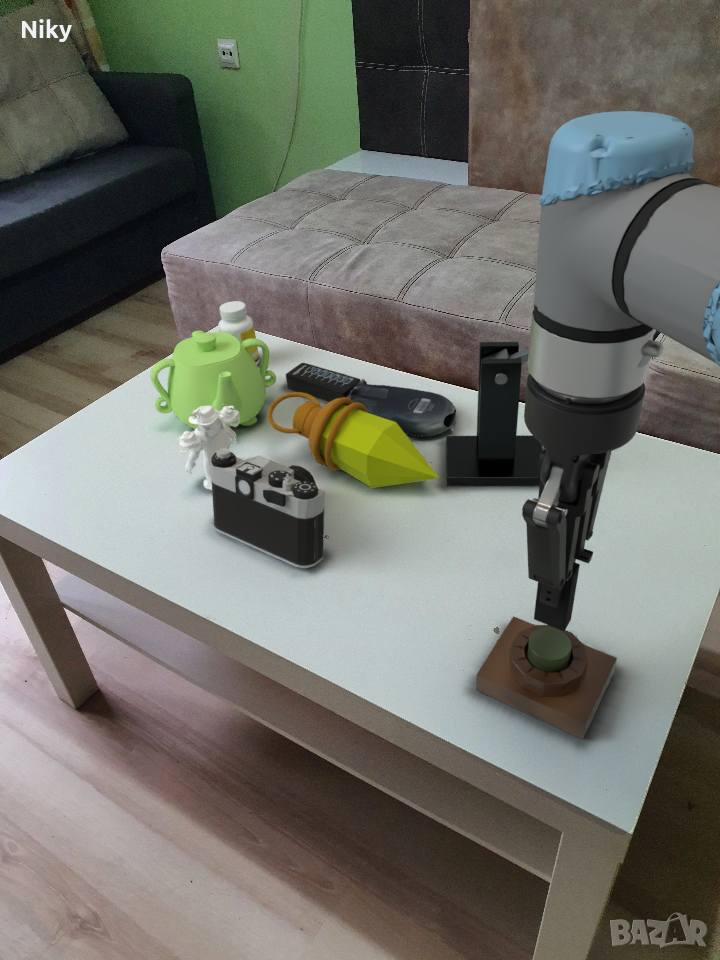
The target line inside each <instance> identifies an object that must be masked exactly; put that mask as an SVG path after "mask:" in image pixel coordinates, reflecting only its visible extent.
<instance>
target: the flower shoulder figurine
mask: <svg viewBox="0 0 720 960" xmlns="http://www.w3.org/2000/svg"><path fill="white" fill-rule="evenodd" d="M223 404H224V403H223ZM223 404H222V405H223ZM231 408H232V409H234V406H225V407H223V409H222V410H221V411H217V410H214V408H213V407H212V406H201V407H199V408H198V409H196V410H193V412H192V413H193V414H192V413H191V415H190V417H189V422H190V423H192V424H195V427H198V428H196V429H193V430H192V431H191V430H187V429H188V428H185V431H184V432H183V433H182V434H181V435H180V436H179V437H178V438H177V441H179V442H178V443H177V445H178V449H179V451H180V453H182V454H183V455H185V454H186V453H188V451H189V449H190V452H189V455H188V457H187V460H186V463H185V464H184V468H185V470H186V472H187V473H188V474H191V475H192V473H193V471H192V470H193V469H194V468H195V467H196V466H197V463H196V461H198V459H199V457H200V455H201V451H202V454H203V471H204V476H205V478H204V479H203V481H202V482H203V483H202V484H203V487H204V488H205V489H207V490H210V491H212V478H211V466H210V463H211V457H212V456H213V455H214V453H216V452H217V450H218V449H221V448H226V449H229V448H230V447H231V444H233V445H234V446H236V445H237V444H238V442H239V439H238V436H237V433H236V432H235V430H233V429H232V428H231V427H234V428H237V427H238V426H239V425H240V424H239V422H240V419H239V417H240V416H238V415H240V412H239V411H237V410H231ZM237 419H239V421H238V423H237V424H231V423H233V422H235V421H236V420H237ZM225 423H226V424H231V425H232V426H230V427H229V426H228V425H226V424H225ZM182 449H186V450H182ZM229 450H230V449H229Z"/></svg>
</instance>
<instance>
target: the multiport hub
mask: <svg viewBox="0 0 720 960" xmlns="http://www.w3.org/2000/svg"><path fill="white" fill-rule="evenodd" d="M361 380H362V379H361V378H359V377H355V376H352V375H349V374H345V373H342V372H337V371H334V370H331V369H327V368H324V367H320V366H318V365H314V364H311V363H308V362H301V363H299V364H297V365H296V366H295V367H293V368H292V369H291V370H289V371H288V372H286V373H285V382H286V387H287V389H289V390H292V391H294V392H302V393H307V394H310V395H312V396H313V397H315V398H316V399H317V398H318V399H320V400H322V401H323V400H324V401H326V402H330V401H332V400H334V399H337V398H342V397H347V396H348V395H350V393H351V390H353V389H354V387H356V386H357V385H358V383H359V382H360V381H361Z"/></svg>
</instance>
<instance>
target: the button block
mask: <svg viewBox="0 0 720 960" xmlns="http://www.w3.org/2000/svg"><path fill="white" fill-rule="evenodd" d="M545 627H549V628H554V627H552V626H549V625H547V624H534V623H531V622H529V621H527V620H524V619H521V618H519V617H517V616H512V617H511V619H510V620H509V622H508V624H507V626H506V627H505V629H504V630H503V632H502V633H501V634H500V637H499V638H498V639H497V641H496V643H495V645H494V646H493V647H492V649H491V651H490V653H489V654H488V655H487V657H486V658H485V661H484V662H483V664H482V665H481V667H480V668H479V670H478V671H477V673H476V675H475V691H477V692H479V693H481V694H484V695H486V696H488V697H490V698H492V699H494V700H497V701H499V702H501V703H503V704H505V705H507V706H509V707H511V708H514V709H516V710H518V711H520V712H523V713H525V714H526V715H528V716H531V717H534V718H536V719H538V720H540V721H541V722H544V723H546V724H547V725H548V724H549V725H551V726H553V727H554V728H557V729H559V730H562V731H563V732H566V733H568V734H571V735H572V736H574V737H577V738H578V739H581V740H584V738H585V736H586V734H587V732H588V730H589V727H590V725H591V723H592V721H593V720H594V719H593V718H594V716H595V714H596V712H597V710H598V708H599V706H600V704H601V702H602V700H603V697H604V695H605V692H606V691H607V688H608V687H609V684H610V683H611V680H612V678H613V677H614V673H615V670H616V665H617V660H618V658H617V657H616V656H613V655H611V654H609V653H606V652H604V651H601V650H599V649H597V648H594V647H592V646H589V645H586V644H584V643H583V642H582V640H580V639H579V638H578V636H576V635H575V633H573V632H571V631H569V630H567V629H566V630H565V631H562V630H560V631H562V632H563V633H565V634H566V635H567V636H568V638H569V639H570V641H571V653H570V659H569V663H568V665H567V666H566V667H565V668H564V669H563V670H561V671H558V672H544V671H541V670H539V669H537V668H536V667H534V666H533V665H532V664H531V662H530V661H529V659H528V644H529V638H530V635H531V634H532V633H533V632H534V631H535V630H537V629H540V628H545ZM555 629H557V628H555ZM558 630H559V629H558Z"/></svg>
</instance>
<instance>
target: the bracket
mask: <svg viewBox="0 0 720 960" xmlns="http://www.w3.org/2000/svg"><path fill="white" fill-rule="evenodd" d="M504 349H507V350H508V353H509V355H512V354H515V353H517V352H520V343H519V341H480V342H479V358H478V383H477V384H478V386H477V414H476V435H446V436H445V451H446V452H445V453H446V454H445V455H446V458H445V461H446V462H445V464H446V465H445V466H446V469H445V470H446V472H445V473H446V474H445V475H446V478H445V479H446V480H445V481H446V483H445V484H446V487H451V486H452V487H461V486H462V487H539V486H540V474H539V473H538V463H539V457H540V454H541V452H542V450H543V445H542V444H541V443H540V442H539V441H538V440H537V439H536V438H535V437H534V436H533V435H532V434H531V435H530V434H529V435H527V434H526V435H521V434H520V435H519V434H518V421H519V407H520V391H521V381H522V380H521V378H522V368H523V367H522V366H523V363H522V361H521V358H512V359H484V358H485V357H487V356H490V355H492V354H494V353H497V352H499V351H502V350H504ZM517 434H518V435H517Z"/></svg>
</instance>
